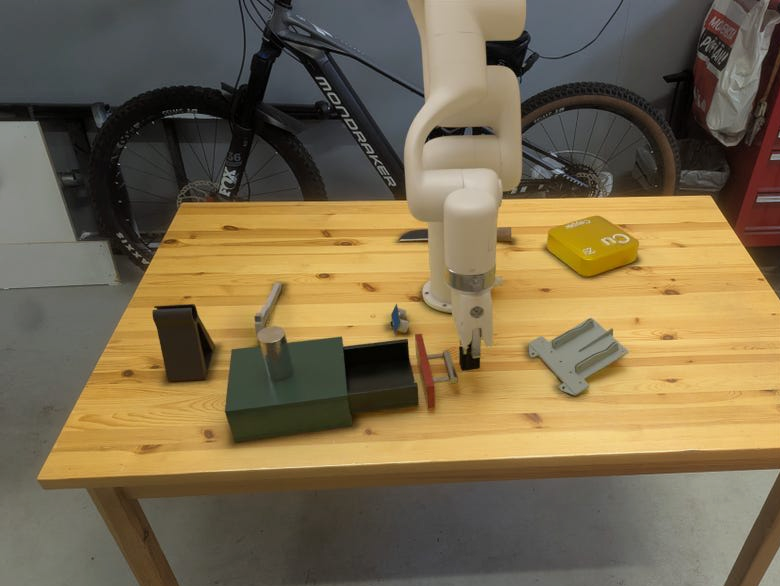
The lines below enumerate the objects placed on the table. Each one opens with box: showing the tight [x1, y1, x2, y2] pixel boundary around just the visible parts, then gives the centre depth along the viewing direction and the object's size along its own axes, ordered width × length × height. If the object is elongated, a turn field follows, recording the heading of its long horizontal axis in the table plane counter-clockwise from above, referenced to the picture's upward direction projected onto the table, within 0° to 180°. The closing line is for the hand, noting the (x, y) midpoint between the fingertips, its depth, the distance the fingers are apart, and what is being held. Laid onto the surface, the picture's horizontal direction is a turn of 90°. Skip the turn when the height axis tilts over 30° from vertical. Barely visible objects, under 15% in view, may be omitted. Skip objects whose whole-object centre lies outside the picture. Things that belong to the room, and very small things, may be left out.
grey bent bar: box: [253, 282, 283, 344], centre depth 123 cm, size 20×1×6 cm, turn 5°
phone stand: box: [151, 303, 216, 383], centre depth 110 cm, size 9×6×12 cm, turn 6°
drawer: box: [343, 333, 459, 416], centre depth 108 cm, size 21×13×5 cm, turn 102°
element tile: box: [546, 215, 640, 277], centre depth 142 cm, size 15×15×5 cm
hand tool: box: [398, 226, 512, 242], centre depth 148 cm, size 6×3×25 cm
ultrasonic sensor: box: [389, 303, 410, 334], centre depth 122 cm, size 6×2×3 cm, turn 12°
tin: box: [256, 325, 293, 381], centre depth 100 cm, size 4×4×8 cm
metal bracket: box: [528, 317, 629, 396], centre depth 115 cm, size 14×6×15 cm
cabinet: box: [224, 335, 353, 443], centre depth 105 cm, size 18×15×7 cm
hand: (469, 366), depth 110 cm, fingers closed
